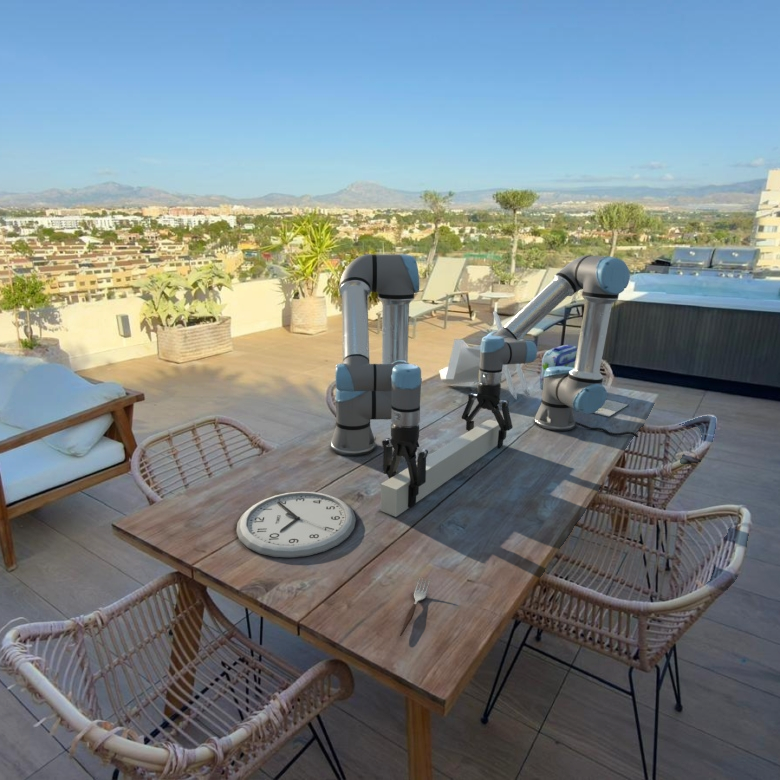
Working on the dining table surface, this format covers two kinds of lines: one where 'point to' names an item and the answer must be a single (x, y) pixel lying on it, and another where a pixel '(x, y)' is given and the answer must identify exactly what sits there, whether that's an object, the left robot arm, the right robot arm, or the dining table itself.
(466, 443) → the beam
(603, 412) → the invitation card
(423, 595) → the fork
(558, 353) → the lunch box
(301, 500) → the wall clock
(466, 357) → the white plastic object
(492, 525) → the dining table surface
